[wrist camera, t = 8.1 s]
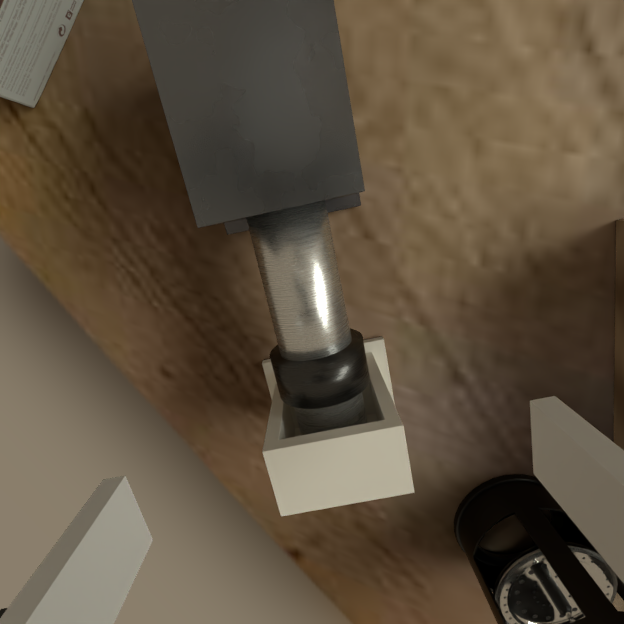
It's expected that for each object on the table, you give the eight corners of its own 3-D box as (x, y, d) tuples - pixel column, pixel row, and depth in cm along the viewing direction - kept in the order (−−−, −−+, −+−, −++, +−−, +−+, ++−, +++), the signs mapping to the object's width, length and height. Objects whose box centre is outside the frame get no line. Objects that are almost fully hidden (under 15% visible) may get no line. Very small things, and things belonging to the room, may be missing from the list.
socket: (262, 360, 28) (238, 441, 18) (382, 336, 27) (422, 407, 18) (280, 424, 29) (266, 531, 20) (393, 403, 29) (435, 501, 19)
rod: (232, 174, 21) (208, 163, 16) (325, 153, 20) (330, 136, 15) (295, 424, 25) (292, 478, 20) (372, 409, 25) (389, 461, 20)
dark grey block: (180, 50, 22) (82, -68, 13) (327, 14, 22) (341, -137, 12) (229, 233, 25) (179, 250, 16) (359, 205, 25) (392, 204, 15)
